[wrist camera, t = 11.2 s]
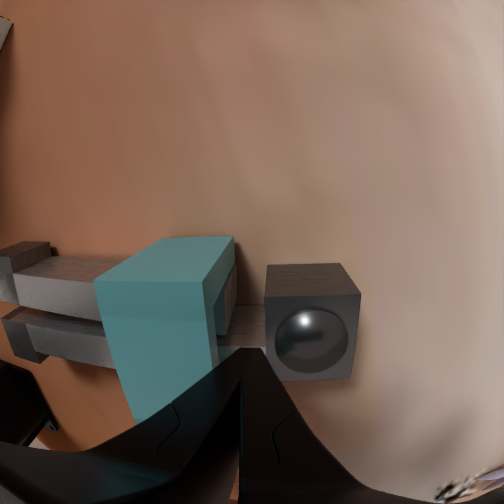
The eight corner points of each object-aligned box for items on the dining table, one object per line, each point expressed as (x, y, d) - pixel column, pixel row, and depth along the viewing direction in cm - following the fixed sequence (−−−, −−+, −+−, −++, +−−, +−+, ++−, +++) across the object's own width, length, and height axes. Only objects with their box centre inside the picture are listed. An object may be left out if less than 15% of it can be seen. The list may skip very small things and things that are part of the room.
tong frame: (340, 262, 12) (362, 295, 8) (334, 346, 13) (348, 395, 9) (30, 266, 13) (-11, 286, 10) (47, 329, 14) (13, 357, 11)
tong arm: (236, 245, 12) (223, 268, 9) (237, 298, 12) (225, 334, 9) (23, 241, 13) (-14, 255, 10) (30, 280, 13) (-5, 298, 10)
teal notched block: (233, 235, 12) (202, 282, 7) (242, 362, 13) (225, 448, 8) (162, 238, 12) (92, 280, 7) (180, 359, 13) (141, 436, 8)
